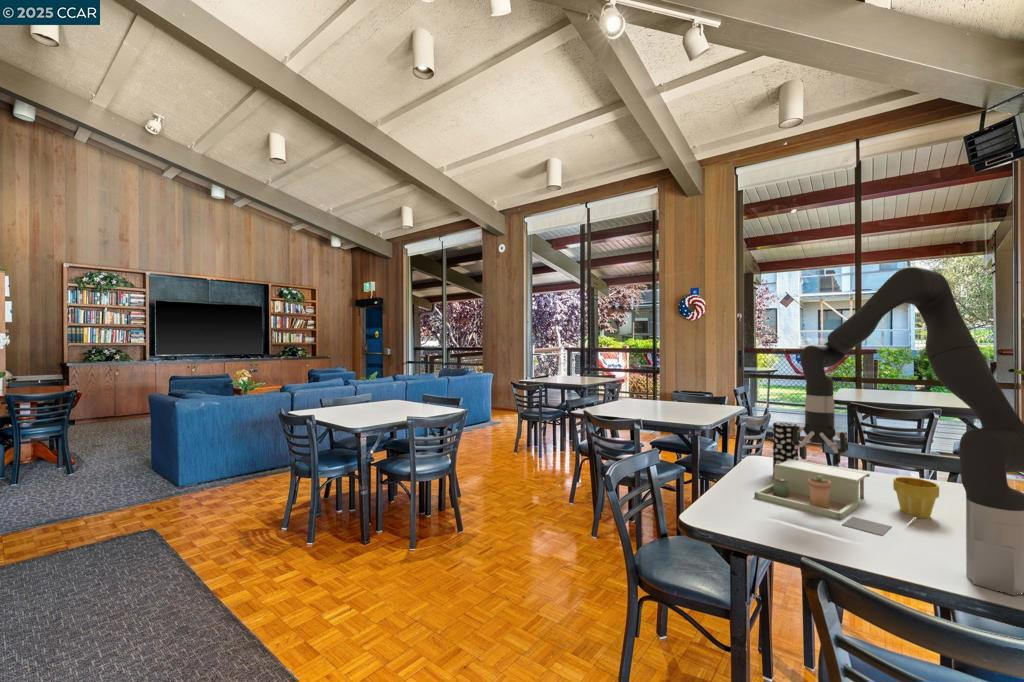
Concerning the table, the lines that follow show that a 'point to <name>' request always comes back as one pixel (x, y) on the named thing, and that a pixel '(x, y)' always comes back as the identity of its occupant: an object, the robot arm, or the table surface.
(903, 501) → the plant pot
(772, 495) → the tray with back shelf
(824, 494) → the terracotta pot
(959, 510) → the table surface
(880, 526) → the slate tile
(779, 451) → the white-spotted black cylinder
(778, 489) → the green plastic pot
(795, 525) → the table surface
